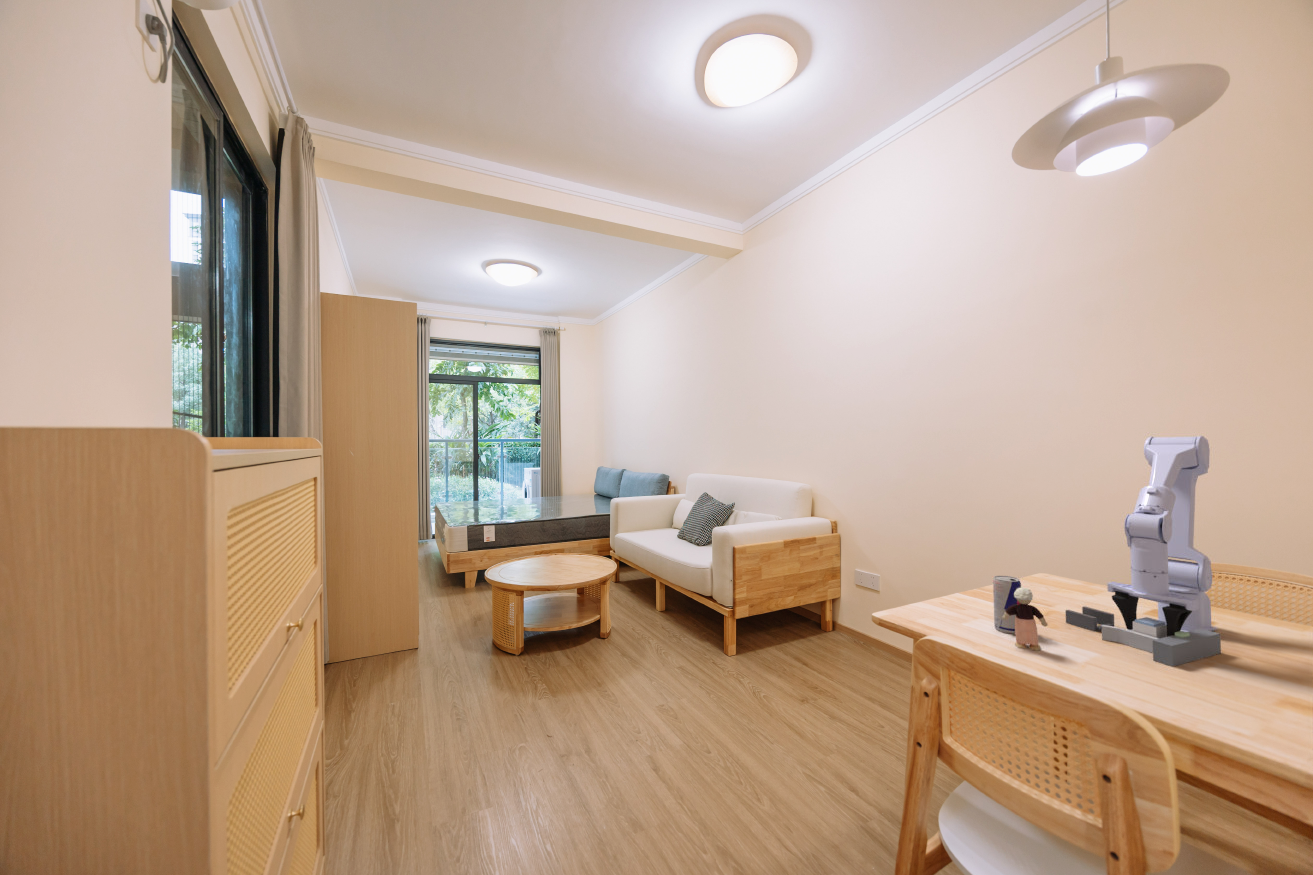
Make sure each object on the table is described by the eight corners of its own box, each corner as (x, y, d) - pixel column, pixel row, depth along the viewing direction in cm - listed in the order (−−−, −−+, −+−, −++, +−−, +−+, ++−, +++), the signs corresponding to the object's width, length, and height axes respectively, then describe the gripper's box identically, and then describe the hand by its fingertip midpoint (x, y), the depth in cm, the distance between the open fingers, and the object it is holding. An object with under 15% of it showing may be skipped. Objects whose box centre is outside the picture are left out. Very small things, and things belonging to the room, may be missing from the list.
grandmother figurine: (1042, 645, 109) (1040, 586, 109) (1050, 652, 106) (1047, 591, 106) (1001, 641, 112) (999, 583, 112) (1006, 648, 108) (1004, 588, 108)
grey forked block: (1137, 629, 116) (1136, 609, 116) (1221, 653, 103) (1220, 630, 103) (1091, 640, 111) (1090, 619, 111) (1172, 666, 98) (1171, 642, 98)
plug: (1145, 641, 110) (1144, 616, 110) (1168, 648, 106) (1167, 622, 106) (1133, 644, 108) (1132, 618, 108) (1156, 651, 105) (1156, 625, 105)
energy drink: (1027, 634, 115) (1025, 581, 115) (1000, 633, 116) (999, 581, 116) (1015, 626, 120) (1013, 575, 120) (990, 625, 121) (988, 575, 121)
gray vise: (1100, 614, 126) (1099, 602, 126) (1132, 623, 120) (1131, 610, 120) (1064, 622, 122) (1064, 609, 122) (1095, 631, 116) (1095, 618, 116)
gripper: (1097, 564, 113) (1099, 625, 113) (1182, 580, 99) (1185, 650, 99) (1118, 561, 115) (1120, 621, 115) (1203, 576, 102) (1206, 644, 101)
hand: (1151, 634), depth 107 cm, fingers open, 6 cm apart
